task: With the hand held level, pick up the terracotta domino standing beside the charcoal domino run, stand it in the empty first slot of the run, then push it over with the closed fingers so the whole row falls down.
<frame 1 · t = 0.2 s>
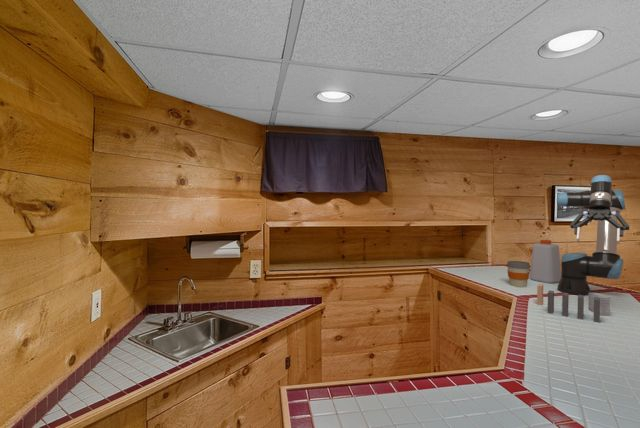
hand: (597, 241, 138), 36 cm above the worktop, tool tilted 35°, fingers open, 13 cm apart
medicine box: (598, 313, 147), on the worktop
domino 5: (596, 320, 136), on the worktop
domino 4: (580, 317, 140), on the worktop
plastic bottle: (545, 280, 209), on the worktop
domino 2: (550, 312, 148), on the worktop
domino 3: (565, 314, 144), on the worktop
reusable coffee cup: (518, 285, 197), on the worktop
terracotta domino: (540, 303, 160), on the worktop
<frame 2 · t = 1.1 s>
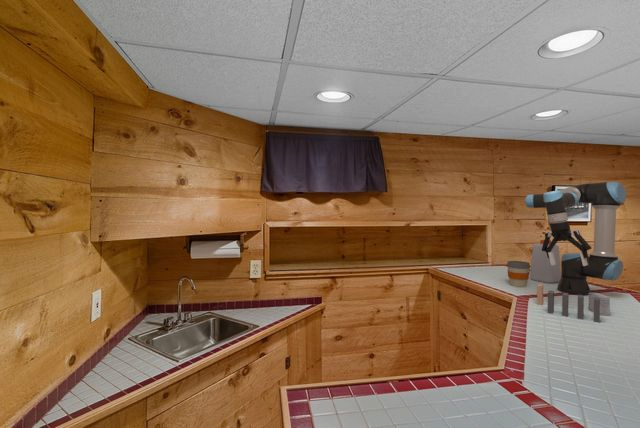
hand: (568, 265, 147), 23 cm above the worktop, tool pointing down, fingers open, 13 cm apart
nothing on the worktop moved.
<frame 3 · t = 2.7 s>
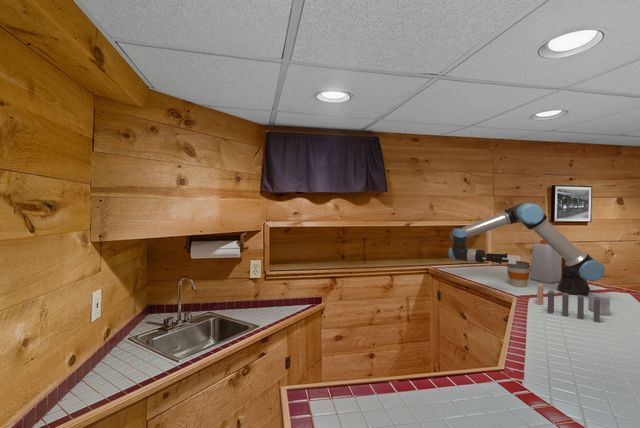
hand: (518, 260, 166), 22 cm above the worktop, tool horizontal, fingers open, 13 cm apart
nothing on the worktop moved.
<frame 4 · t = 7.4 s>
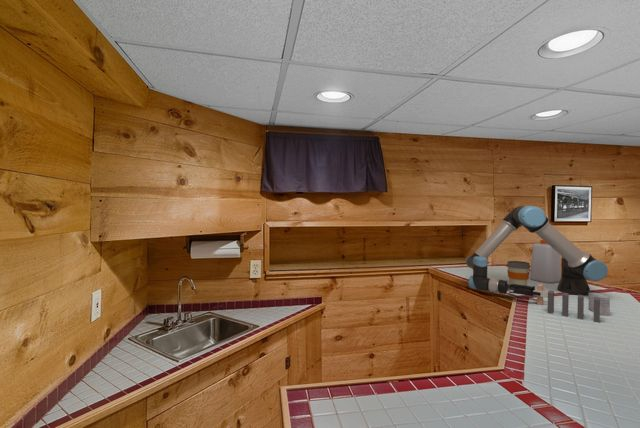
hand: (549, 293, 157), 6 cm above the worktop, tool horizontal, fingers closed on terracotta domino, 5 cm apart
terracotta domino: (540, 303, 160), on the worktop, touching gripper
everything else where it was.
when the fingers open (7 cm above the worktop, at t = 14.8 s): terracotta domino stays where it is, on the worktop.
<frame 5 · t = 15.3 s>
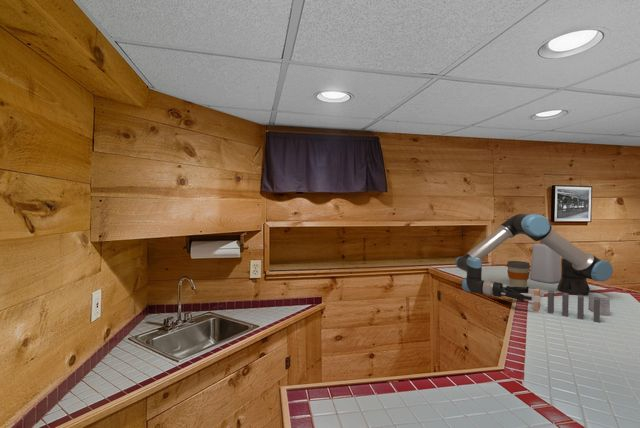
hand: (542, 296, 150), 7 cm above the worktop, tool horizontal, fingers open, 12 cm apart
terracotta domino: (536, 309, 151), on the worktop
everything else where it was.
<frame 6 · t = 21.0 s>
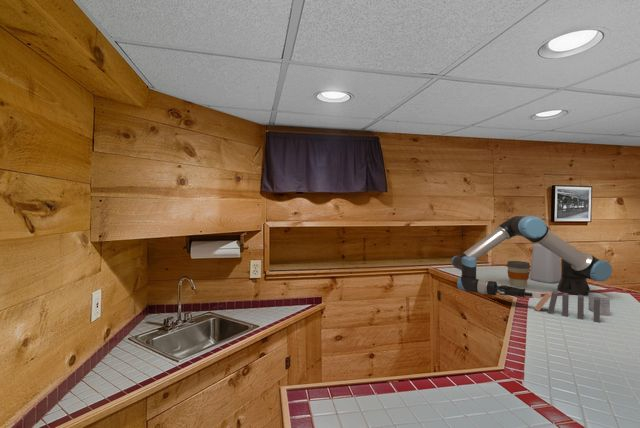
hand: (540, 295, 150), 7 cm above the worktop, tool horizontal, fingers closed
domino 2: (550, 311, 148), on the worktop, tilted 9°
terracotta domino: (537, 308, 151), on the worktop, tilted 29°
everything else where it was.
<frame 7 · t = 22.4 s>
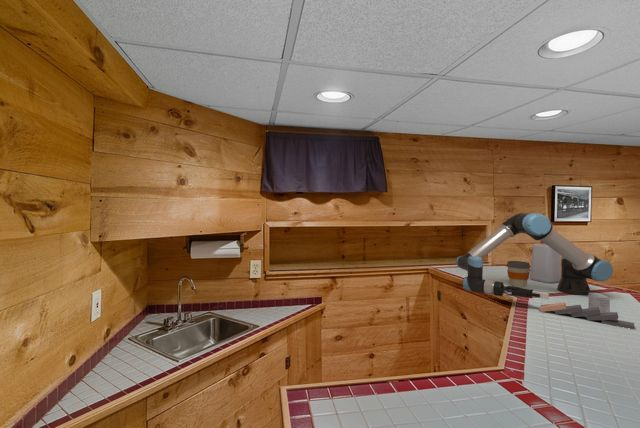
hand: (548, 296, 148), 8 cm above the worktop, tool horizontal, fingers closed
domino 5: (601, 320, 135), on the worktop, tilted 90°, touching domino 4
domino 4: (587, 316, 138), point 1 cm above the worktop, tilted 73°, touching domino 3, domino 5
domino 2: (555, 311, 146), point 1 cm above the worktop, tilted 69°, touching terracotta domino
domino 3: (572, 313, 143), point 1 cm above the worktop, tilted 69°, touching domino 4
terracotta domino: (540, 308, 150), point 1 cm above the worktop, tilted 69°, touching domino 2
everything else where it was.
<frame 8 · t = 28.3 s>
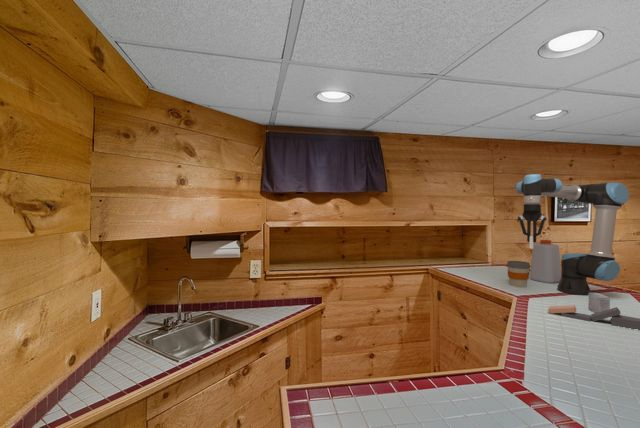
hand: (531, 248, 160), 29 cm above the worktop, tool pointing down, fingers closed
domino 5: (611, 322, 133), point 1 cm above the worktop, tilted 90°, touching domino 4
domino 4: (611, 317, 133), point 3 cm above the worktop, tilted 90°, touching domino 3, domino 5
domino 2: (562, 313, 144), on the worktop, tilted 90°, touching terracotta domino
domino 3: (592, 317, 137), point 1 cm above the worktop, tilted 58°, touching domino 4
terracotta domino: (549, 309, 148), point 1 cm above the worktop, tilted 73°, touching domino 2
everything else where it was.
at the end: domino 5 tilted 90°; terracotta domino tilted 85°; terracotta domino inside the target area (2.9 cm from its centre), point 2.0 cm above the worktop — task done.
